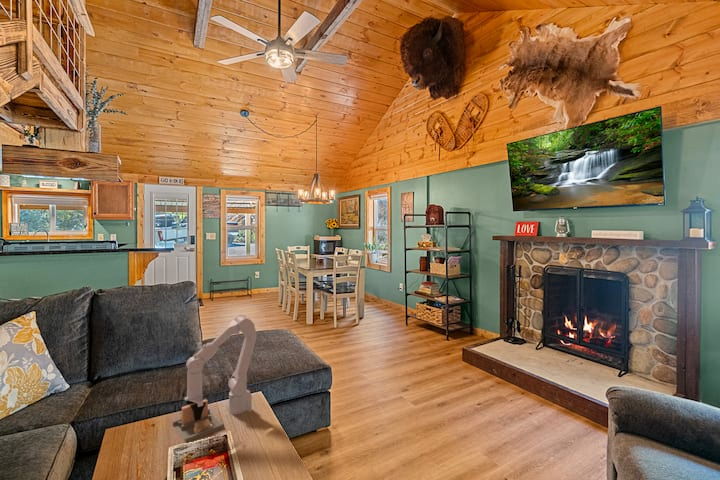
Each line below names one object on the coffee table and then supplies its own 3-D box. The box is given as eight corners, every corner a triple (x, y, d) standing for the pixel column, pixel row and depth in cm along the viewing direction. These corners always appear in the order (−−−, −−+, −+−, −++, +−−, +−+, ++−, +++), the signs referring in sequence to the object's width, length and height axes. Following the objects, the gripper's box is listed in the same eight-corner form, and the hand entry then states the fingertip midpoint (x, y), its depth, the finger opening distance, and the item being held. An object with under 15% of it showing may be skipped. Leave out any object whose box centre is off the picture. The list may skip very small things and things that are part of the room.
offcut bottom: (207, 425, 143) (207, 421, 143) (212, 428, 140) (212, 425, 140) (193, 431, 138) (193, 428, 138) (198, 435, 136) (198, 431, 136)
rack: (209, 413, 153) (209, 408, 153) (224, 429, 141) (224, 423, 141) (172, 427, 143) (172, 421, 143) (185, 445, 131) (185, 439, 131)
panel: (206, 416, 149) (206, 399, 149) (207, 418, 148) (207, 400, 148) (181, 425, 142) (181, 407, 142) (183, 427, 141) (183, 409, 141)
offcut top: (208, 422, 142) (208, 419, 142) (210, 426, 139) (210, 422, 139) (194, 427, 139) (194, 423, 139) (196, 431, 136) (196, 427, 136)
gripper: (179, 382, 147) (179, 413, 147) (190, 394, 137) (190, 427, 137) (196, 378, 152) (196, 407, 152) (208, 388, 141) (208, 420, 142)
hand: (194, 416), depth 145 cm, fingers open, 6 cm apart
